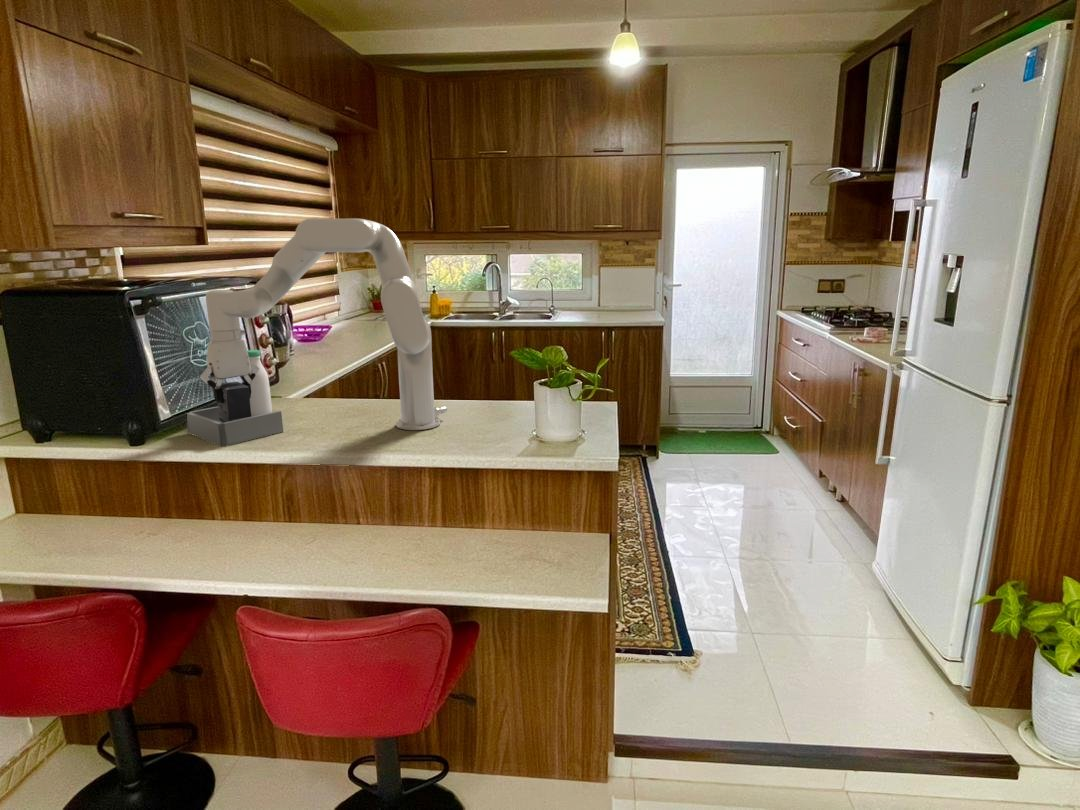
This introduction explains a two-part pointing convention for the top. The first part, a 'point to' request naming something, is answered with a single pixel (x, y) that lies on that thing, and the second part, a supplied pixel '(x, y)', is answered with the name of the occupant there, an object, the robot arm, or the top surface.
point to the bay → (232, 426)
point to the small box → (234, 402)
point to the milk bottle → (259, 387)
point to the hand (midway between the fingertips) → (233, 399)
